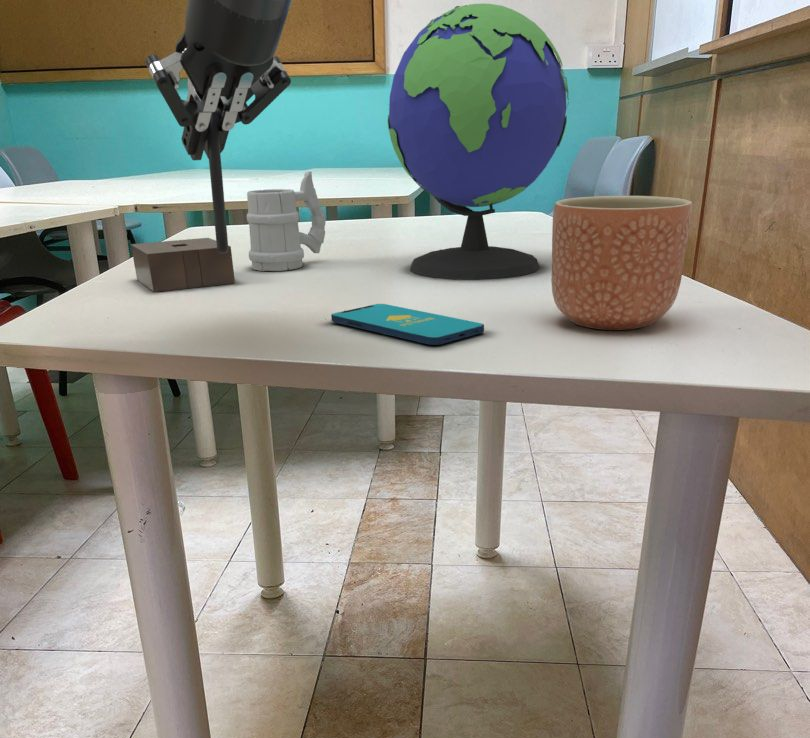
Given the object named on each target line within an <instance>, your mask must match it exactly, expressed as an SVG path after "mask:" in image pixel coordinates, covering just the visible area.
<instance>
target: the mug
mask: <svg viewBox="0 0 810 738" xmlns="http://www.w3.org/2000/svg"><path fill="white" fill-rule="evenodd" d="M303 175H304V176H303V178H302V180H301V182H300V187H299V191H295V190H294V189H291V188H290V189H289V188H288V189H286V188H285V189H284V188H281V189H280V188H271V189H270V188H268V189H255V190H248V191H247V192H246V199H247V200H246V201H247V213H246V221H247V223H248V226H249V242H250V243H249V244H250V249H249V250H248V260H249V261H250V262H251V267H252V269H253V270H254V271H259V272H283V271H291V270H297V269H300V268H302V267H303V265H304V263H303V259H304V258H305V252H304V248H302V246H301V245H303V246H305V247H307V248H309V250H310V251H311V252H312V253H313V254H320V252H321V247H322V245H323V244H324V241H325V236H326V230H325V228H326V227H325V226H326V222H327V221H326V215H325V214H324V210H323V208H322V205H321V203H320V200H319V198H318V195H317V191H316V188H315V185H314V182H313V171H311V170H310V171H309V170H308V171H305V172H304V174H303ZM299 201H300V202H301V201H303V203H304V204H305V206H306V208H308V209H309V212H310V215H311V216H310V218H311V227H310V228H309V231H308V232H307V233H305V232H301V231H300V229H299V220H300V213H299V211H298V210H297V202H299Z"/></svg>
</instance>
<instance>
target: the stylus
mask: <svg viewBox="0 0 810 738" xmlns="http://www.w3.org/2000/svg"><path fill="white" fill-rule="evenodd" d="M207 130H208V131H209V132H208V134H207V145H208V156H209V159H208V165H209V175H210V176H209V177H210V186H211V187H210V188H211V197H212V200H211V201H212V209H213V211H212V212H213V220H214V231H215V232H214V233H215V240H216V243H217V250H218V252H220V253H221V254H225V253H226V252H227V251H228V246H229V239H228V227H227V215H226V203H225V194H224V193H225V192H224V191H225V190H224V180H223V179H224V178H223V170H222V169H223V168H222V156H221V153H220V143H219V131H218V120H217V109H216V112H212V114H211V118H210V122H209V126H208V128H207Z"/></svg>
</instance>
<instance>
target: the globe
mask: <svg viewBox="0 0 810 738" xmlns="http://www.w3.org/2000/svg"><path fill="white" fill-rule="evenodd" d="M563 67H564V66H563V62H562V58H561V56H560V54H559V52H558V51H557V48H556V47H555V45H554V43H553V42H552V41H551V39H550V38H549V37H548V36H547V34H546V33H545V31H544V30H543V29H542V28H540V27H539V25H538V24H537V23H536V22H534V21H533V20H532V19H530V18H528V17H527V16H526V15H525V14H522V13H520V12H518V11H516V10H514V9H512V8H510V7H508V6H504V5H501V4H493V3H471V4H466V5H456V6H455V7H453V8H452V9H450V10H448V11H446V12H444V13H442V14H441V15H440V16H437V17H436V18H433V19H431V20H430V21H429V23H427V25H426V26H425V27H423V28H422V29H421V30H420V31H419V32H418V33H417V35H416V36H415V37H414V39H413V40H412V41H411V43H409V46H408V47H407V48H406V50H405V51H404V52H403V54H402V56H401V58H400V60H399V63H398V65H397V68H396V69H395V73H394V75H393V78H392V83H391V88H390V93H389V103H388V106H389V107H388V114H387V128H388V133H389V137H390V142H391V144H392V147H393V151H394V153H395V154H396V157H397V159H398V161H399V162H400V164H401V165H402V167H403V169H404V171H405V172H406V174H407V175H408V176H409V177H410V179H412V180H413V182H414V183H416V184H417V185H418V187H420V188H421V189H422V190H423V191H425V192H426V193H427V194H429V195H431V196H432V197H433V198H434V199H435V200H436V201H437V203H439V204H440V205H442V207H444V208H445V209H446V210H448V211H450V212H451V213H454V214H457V215H460V216H463V217H467V218H466V223H465V228H464V232H463V236H462V240H461V245H460V246H457V247H449V248H443V249H437V250H433V251H432V250H431V251H429V252H426V253H425V254H422V255H420V256H417V257H415V258H413V260H412V262H411V264H410V268H409V271H410V272H411V273H413V274H415V275H419V276H422V277H429V278H435V279H447V280H492V279H494V280H496V279H505V278H514V277H521V276H525V275H529V274H533V273H536V272H538V271H539V270H540V269H541V266H540V264H539V261H538V258H537V257H535V255H533V254H529V253H526V252H524V251H521V250H517V249H514V248H508V247H507V248H506V247H499V246H493V245H489V242H488V237H487V231H486V226H485V221H484V216H487V215H491V214H495V213H496V209H495V208H494V207H493V206H494V205H497V204H501V203H504V202H506V201H508V200H510V199H512V198H514V197H516V196H518V195H519V194H521V193H522V192H524V191H525V190H526V189H527V188H528V187H530V186H531V185H532V184H533V183H535V181H536V180H537V179H538V178H539V176H540V175H541V174H542V173H543V171H544V170H545V169H546V168H547V166H548V164H549V163H550V161H551V159H553V156H554V155H555V153H556V151H557V150H558V148H560V145H561V142H562V140H563V138H564V134H565V132H566V126H567V122H568V121H567V120H568V118H567V114H566V113H567V106H569V103H570V102H569V86H568V80H567V77H566V76H565V71H564V69H563ZM483 207H489V209H485V210H473V209H471V208H483Z"/></svg>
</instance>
